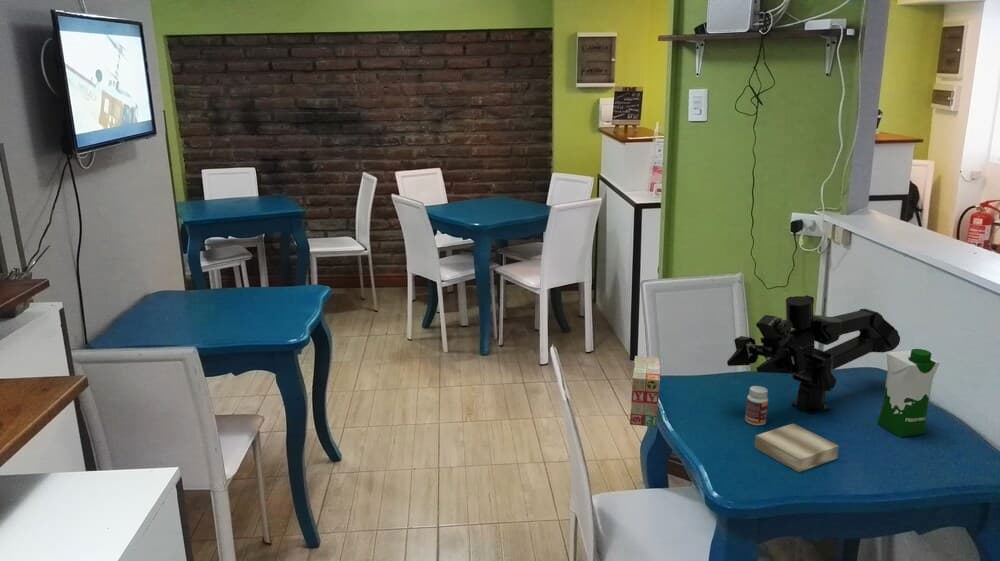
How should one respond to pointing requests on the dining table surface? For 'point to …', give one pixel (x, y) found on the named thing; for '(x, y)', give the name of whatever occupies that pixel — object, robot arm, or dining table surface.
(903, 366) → the milk carton
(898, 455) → the dining table surface
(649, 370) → the stack of blocks
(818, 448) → the birch block
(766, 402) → the pill bottle
